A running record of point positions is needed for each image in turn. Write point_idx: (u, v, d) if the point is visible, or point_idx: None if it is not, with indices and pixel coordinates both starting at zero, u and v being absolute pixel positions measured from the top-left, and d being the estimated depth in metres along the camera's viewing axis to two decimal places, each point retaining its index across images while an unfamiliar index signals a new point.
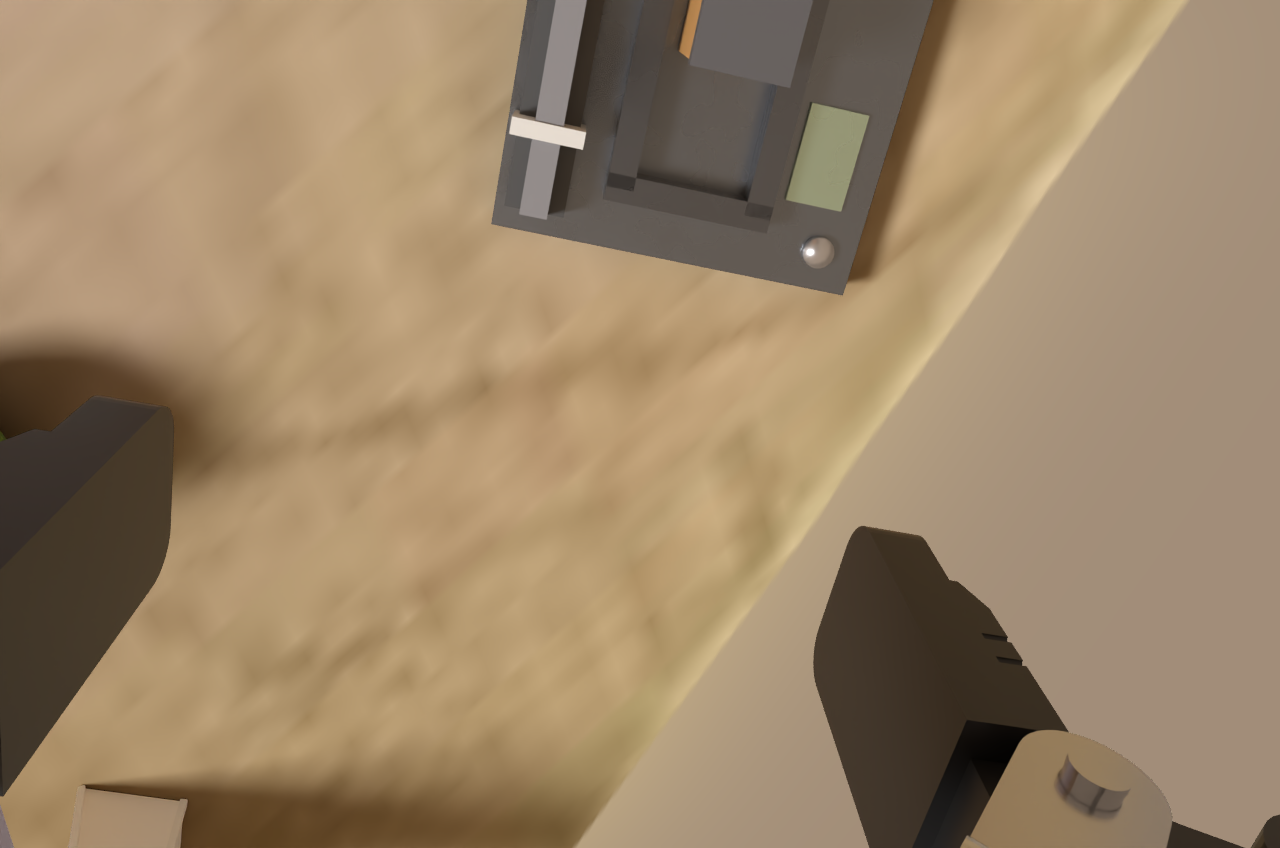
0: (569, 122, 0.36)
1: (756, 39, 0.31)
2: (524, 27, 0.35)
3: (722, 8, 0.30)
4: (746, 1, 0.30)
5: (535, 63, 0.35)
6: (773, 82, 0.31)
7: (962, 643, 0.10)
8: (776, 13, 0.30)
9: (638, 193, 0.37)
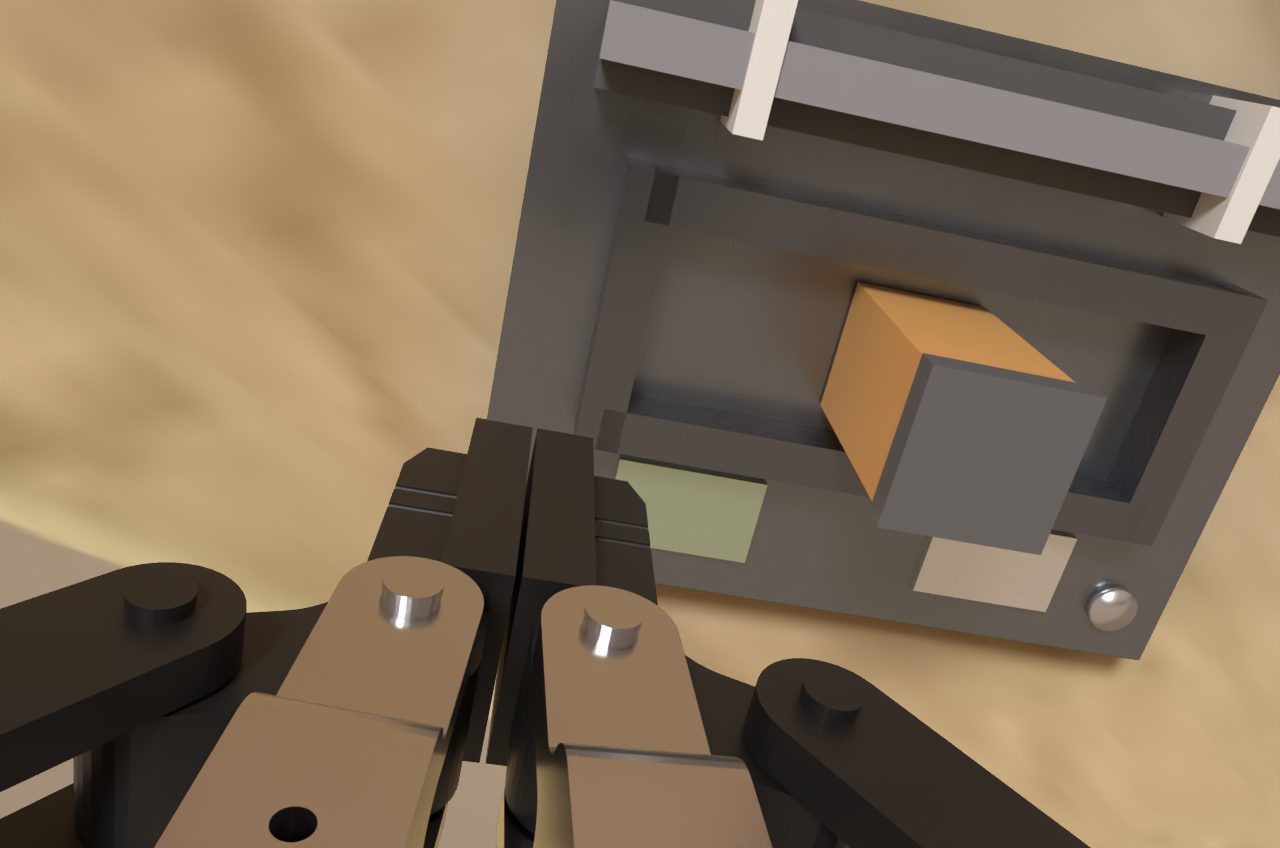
0: None
1: (961, 470, 0.18)
2: (916, 17, 0.20)
3: (1018, 414, 0.18)
4: (1023, 451, 0.18)
5: (872, 39, 0.19)
6: (889, 502, 0.18)
7: (567, 519, 0.10)
8: (997, 498, 0.18)
9: (641, 230, 0.20)
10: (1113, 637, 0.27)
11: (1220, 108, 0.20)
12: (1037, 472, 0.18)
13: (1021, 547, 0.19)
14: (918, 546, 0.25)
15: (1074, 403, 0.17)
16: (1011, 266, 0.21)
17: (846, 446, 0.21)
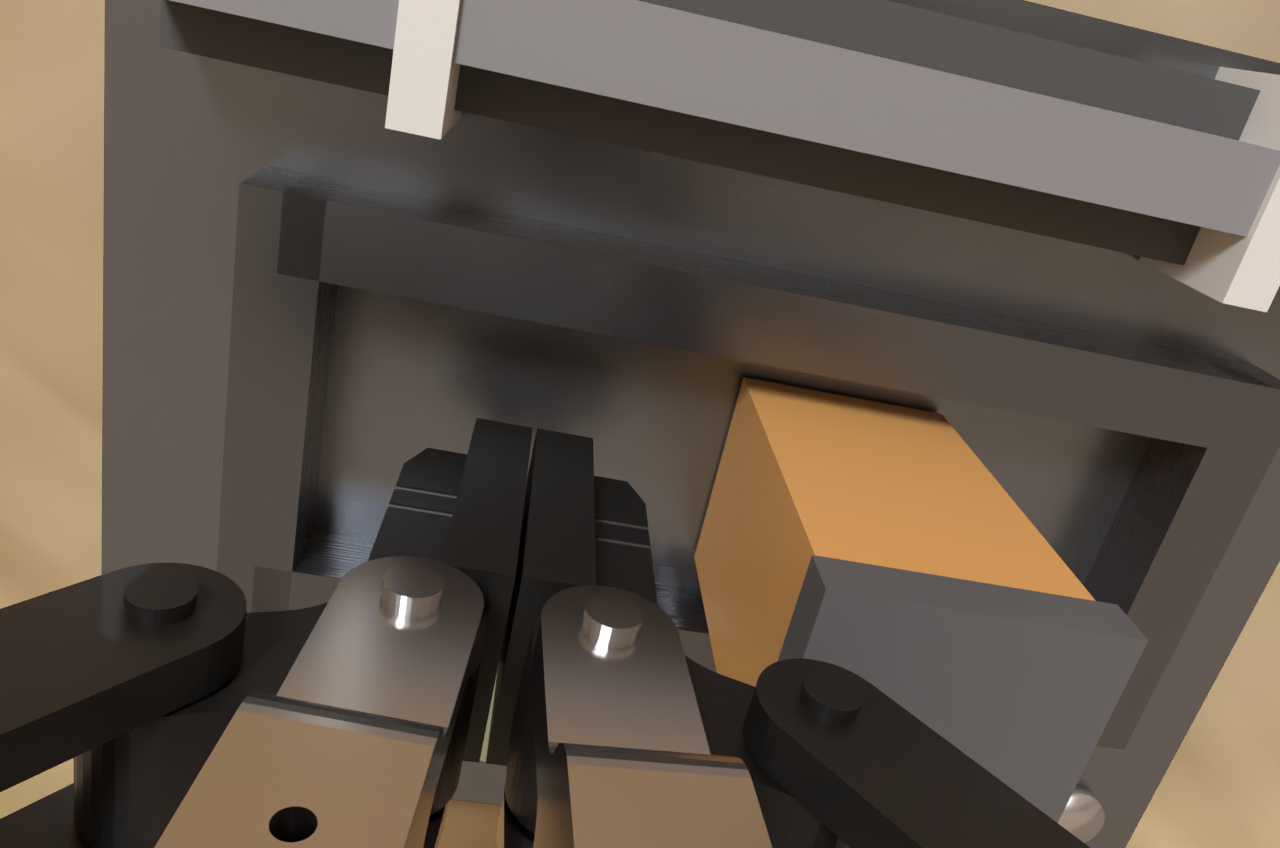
0: (466, 74, 0.12)
1: None
2: None
3: (985, 669, 0.10)
4: (995, 729, 0.10)
5: None
6: None
7: (567, 519, 0.10)
8: None
9: (273, 288, 0.12)
10: None
11: (1233, 86, 0.12)
12: (1020, 761, 0.10)
13: None
14: None
15: (1087, 651, 0.10)
16: (894, 344, 0.13)
17: (715, 651, 0.13)
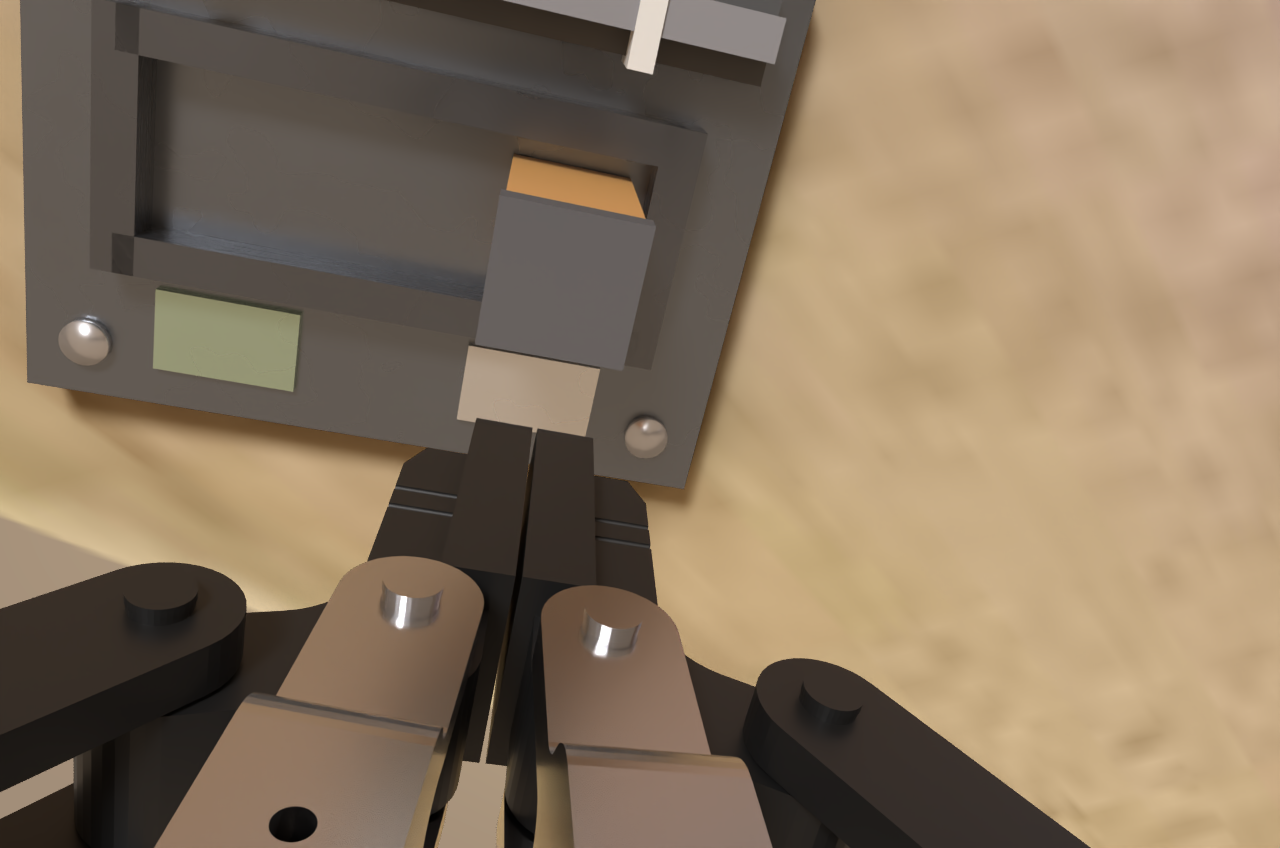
0: None
1: (540, 292, 0.21)
2: None
3: (581, 241, 0.21)
4: (591, 275, 0.21)
5: None
6: (481, 320, 0.21)
7: (567, 520, 0.10)
8: (575, 317, 0.21)
9: (113, 59, 0.23)
10: (655, 466, 0.29)
11: None
12: (606, 294, 0.21)
13: (605, 364, 0.22)
14: (457, 377, 0.28)
15: (628, 232, 0.21)
16: (466, 98, 0.24)
17: None
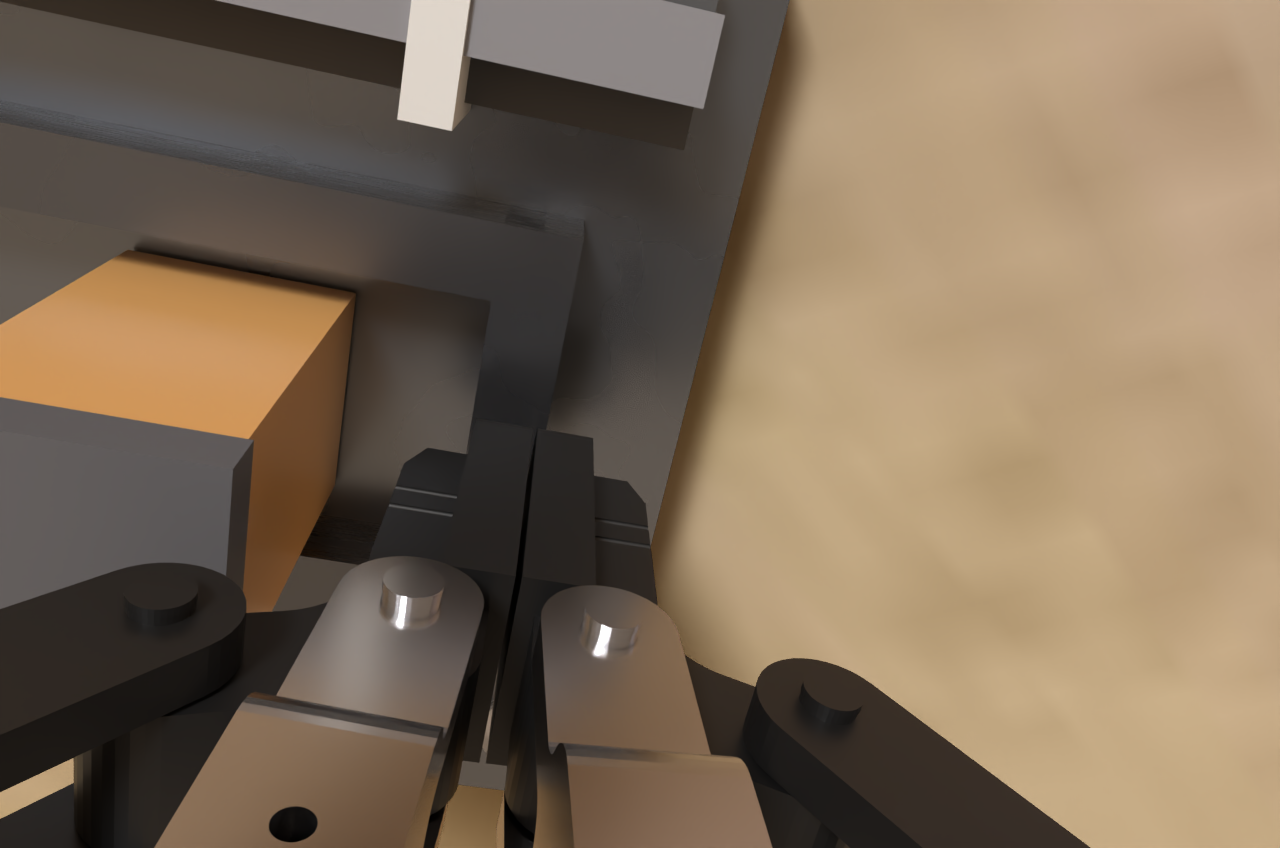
0: None
1: None
2: None
3: (58, 501, 0.09)
4: (98, 572, 0.09)
5: None
6: None
7: (567, 520, 0.10)
8: None
9: None
10: None
11: None
12: None
13: None
14: None
15: (167, 480, 0.09)
16: (100, 176, 0.12)
17: None
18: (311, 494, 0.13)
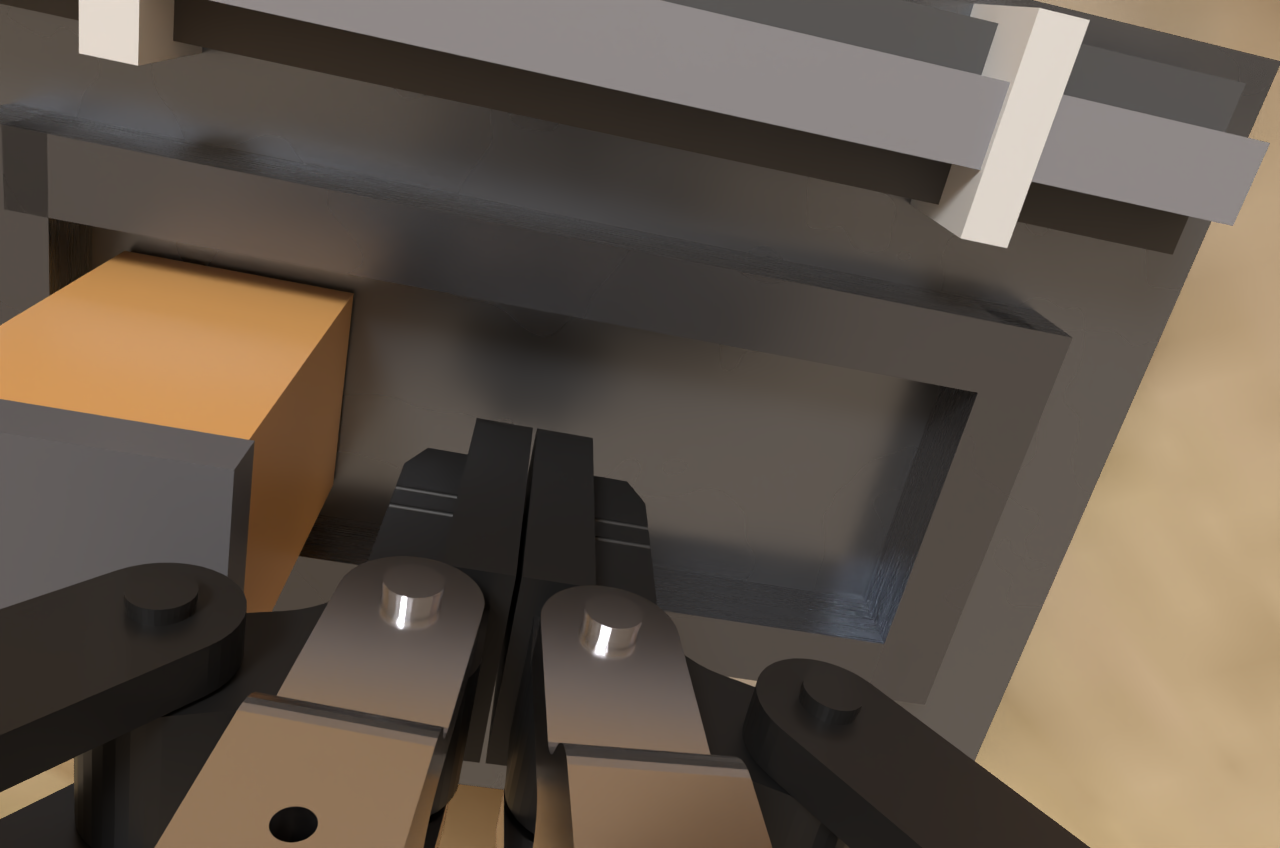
0: (181, 3, 0.11)
1: None
2: None
3: (59, 502, 0.09)
4: (99, 573, 0.09)
5: None
6: None
7: (567, 520, 0.10)
8: None
9: (2, 225, 0.12)
10: None
11: (970, 19, 0.12)
12: None
13: None
14: None
15: (168, 480, 0.09)
16: (646, 284, 0.13)
17: None
18: (310, 494, 0.13)
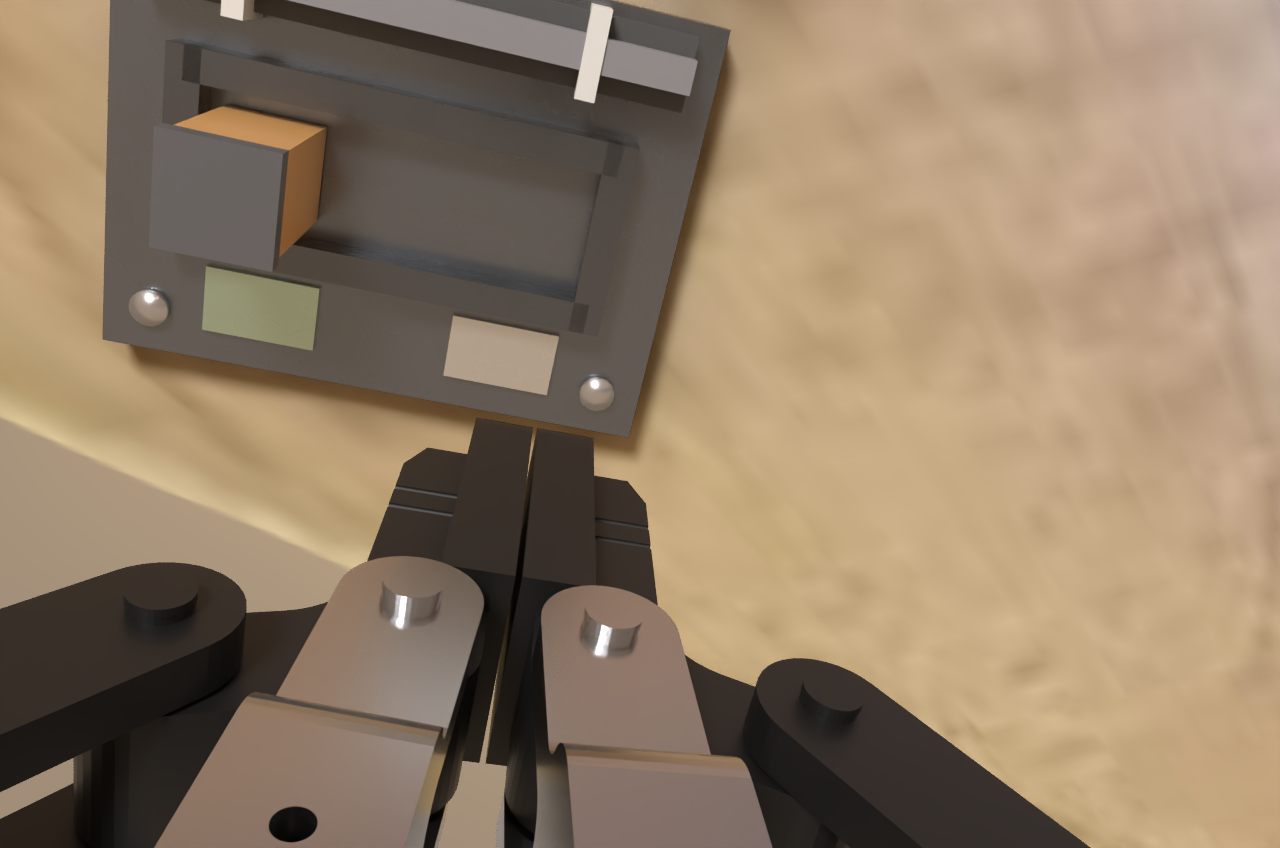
0: None
1: (196, 205, 0.26)
2: None
3: (224, 164, 0.26)
4: (235, 192, 0.26)
5: None
6: (151, 227, 0.27)
7: (567, 520, 0.10)
8: (228, 227, 0.27)
9: (180, 87, 0.29)
10: (605, 418, 0.36)
11: (578, 9, 0.29)
12: (250, 208, 0.27)
13: (256, 265, 0.27)
14: (444, 341, 0.34)
15: (260, 157, 0.26)
16: (450, 120, 0.30)
17: None
18: (306, 210, 0.31)
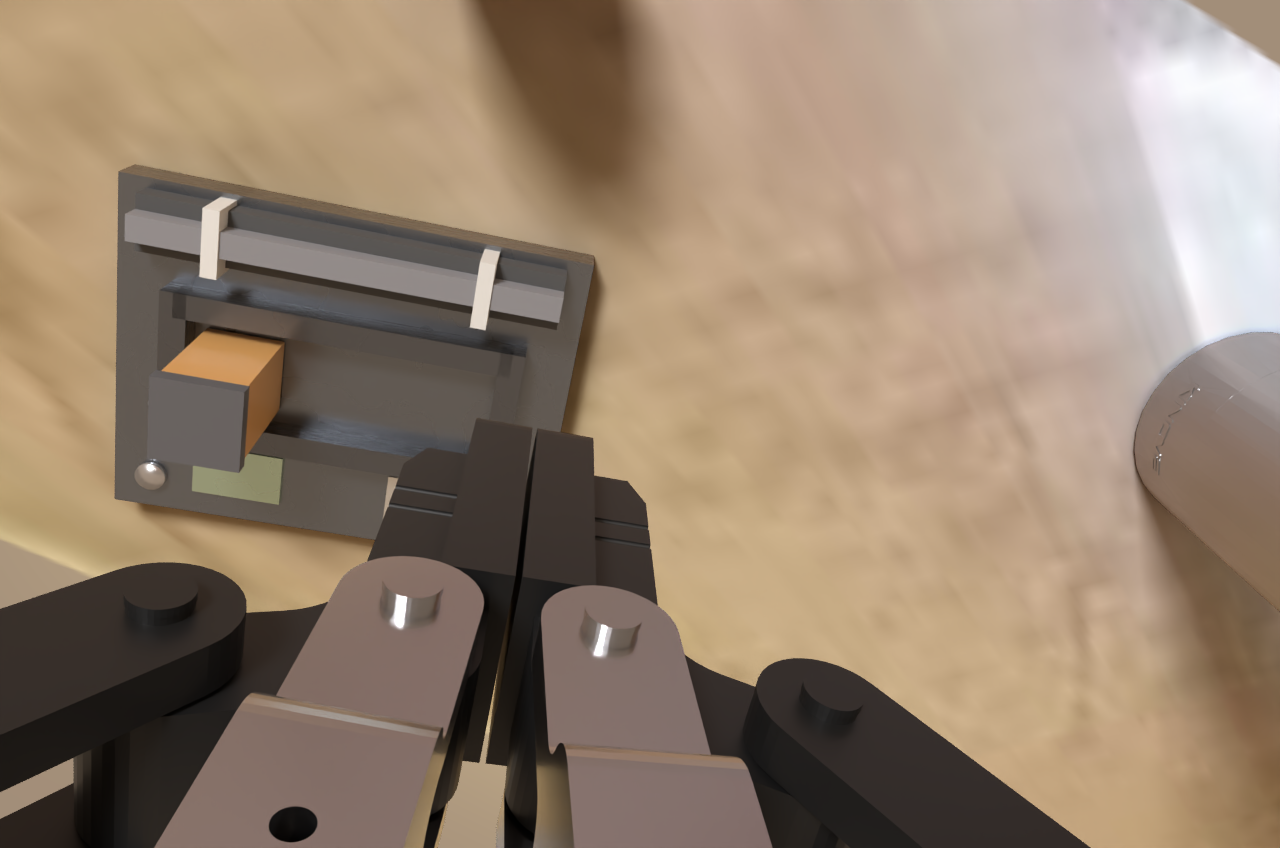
0: None
1: (181, 428, 0.36)
2: (312, 211, 0.38)
3: (201, 400, 0.35)
4: (210, 419, 0.36)
5: (277, 226, 0.38)
6: (148, 444, 0.36)
7: (567, 520, 0.10)
8: (205, 443, 0.36)
9: (171, 322, 0.39)
10: None
11: (472, 259, 0.39)
12: (221, 429, 0.36)
13: (227, 469, 0.36)
14: (382, 495, 0.43)
15: (228, 395, 0.35)
16: (377, 340, 0.39)
17: None
18: (269, 409, 0.40)
